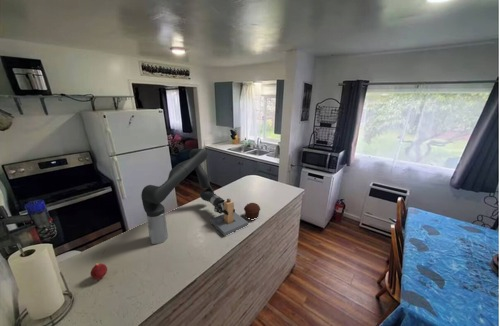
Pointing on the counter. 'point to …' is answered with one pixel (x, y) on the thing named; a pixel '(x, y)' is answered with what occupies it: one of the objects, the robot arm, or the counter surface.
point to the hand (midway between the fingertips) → (231, 212)
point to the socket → (229, 228)
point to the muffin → (252, 210)
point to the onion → (98, 271)
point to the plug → (229, 211)
